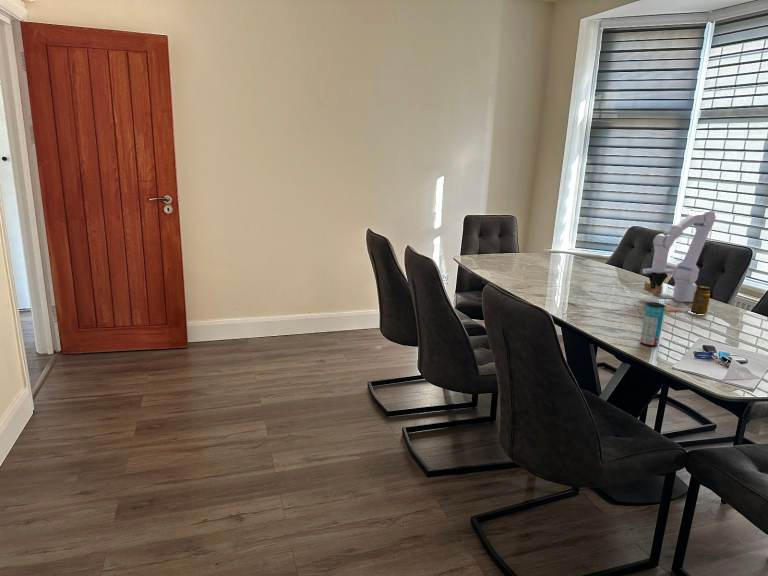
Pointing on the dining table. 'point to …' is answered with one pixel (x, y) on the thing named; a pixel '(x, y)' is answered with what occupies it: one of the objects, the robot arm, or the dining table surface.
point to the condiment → (700, 300)
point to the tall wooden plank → (656, 291)
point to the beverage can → (652, 324)
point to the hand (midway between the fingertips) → (655, 288)
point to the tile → (672, 309)
